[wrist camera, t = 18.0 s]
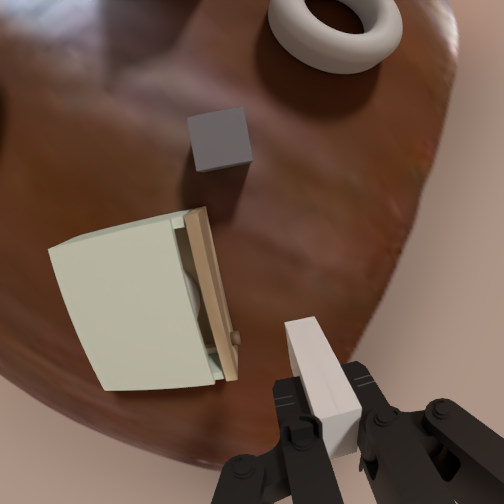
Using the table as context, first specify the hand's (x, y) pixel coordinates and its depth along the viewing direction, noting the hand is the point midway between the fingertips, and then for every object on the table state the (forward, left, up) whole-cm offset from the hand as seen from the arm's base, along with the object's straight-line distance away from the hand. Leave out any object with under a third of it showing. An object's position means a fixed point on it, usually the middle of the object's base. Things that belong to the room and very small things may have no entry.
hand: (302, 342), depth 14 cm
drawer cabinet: (-15, -3, -19) cm, 24 cm away
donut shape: (+12, +26, -20) cm, 35 cm away
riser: (-3, +12, -19) cm, 23 cm away
